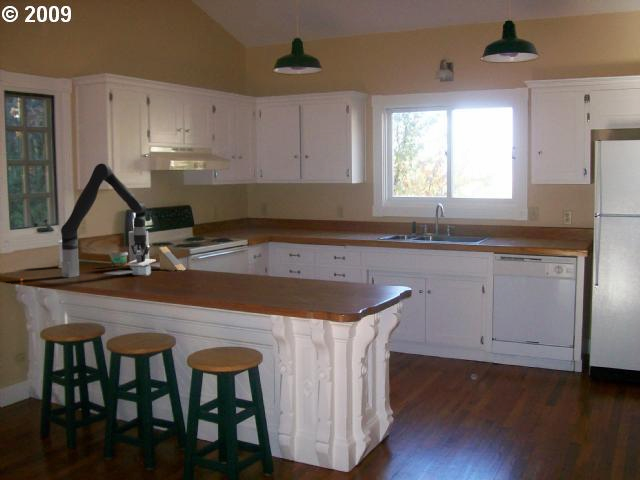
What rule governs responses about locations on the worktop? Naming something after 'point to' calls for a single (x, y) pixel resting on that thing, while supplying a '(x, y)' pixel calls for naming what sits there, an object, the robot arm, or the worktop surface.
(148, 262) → the lid
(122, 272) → the mat
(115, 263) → the food container
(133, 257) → the cylinder vase
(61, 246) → the decorative container
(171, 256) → the sandwich container
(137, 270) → the pale blue block
